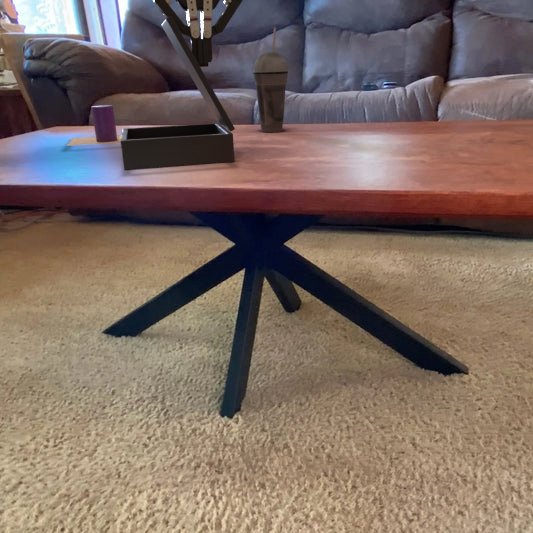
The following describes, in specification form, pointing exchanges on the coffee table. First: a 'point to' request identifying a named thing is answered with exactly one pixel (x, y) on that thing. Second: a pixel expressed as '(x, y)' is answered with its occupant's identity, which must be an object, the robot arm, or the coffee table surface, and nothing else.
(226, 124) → the lid
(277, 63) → the beverage cup
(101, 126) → the purple cylinder
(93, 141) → the cork mat
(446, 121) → the coffee table surface
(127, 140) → the box
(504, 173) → the coffee table surface
